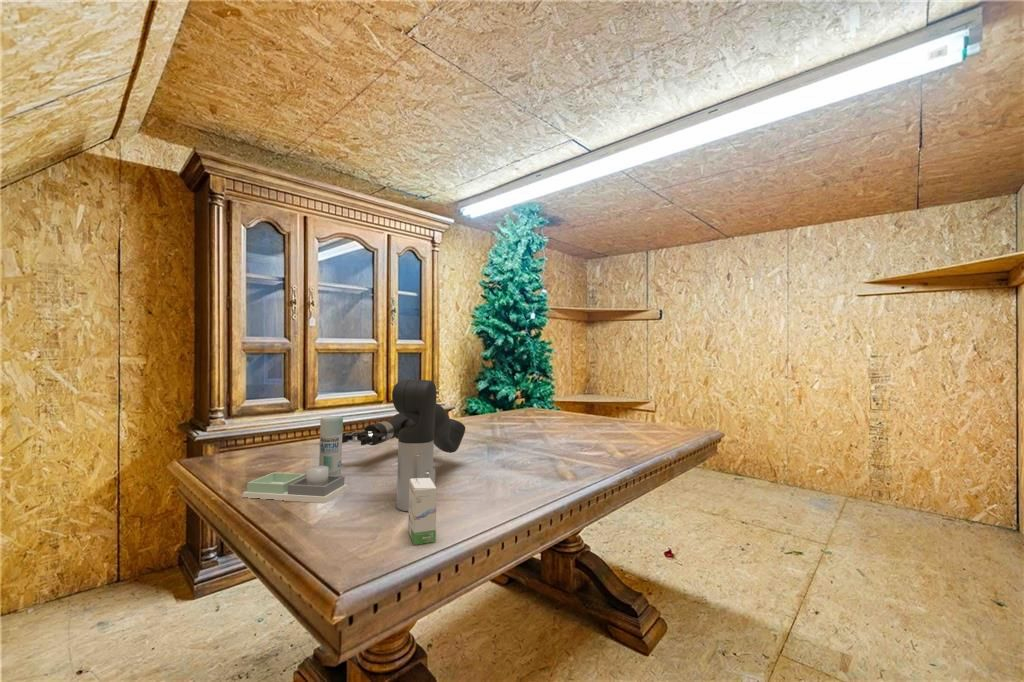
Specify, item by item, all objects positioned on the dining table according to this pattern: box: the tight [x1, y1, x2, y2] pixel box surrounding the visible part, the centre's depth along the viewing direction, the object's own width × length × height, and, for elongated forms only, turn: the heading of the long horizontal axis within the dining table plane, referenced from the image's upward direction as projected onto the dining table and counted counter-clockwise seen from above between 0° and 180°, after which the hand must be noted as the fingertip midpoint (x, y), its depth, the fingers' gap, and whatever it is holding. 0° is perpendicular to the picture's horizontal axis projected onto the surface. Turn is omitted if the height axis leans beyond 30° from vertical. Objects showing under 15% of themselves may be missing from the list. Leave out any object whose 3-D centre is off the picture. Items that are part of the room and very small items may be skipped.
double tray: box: [242, 464, 349, 504], centre depth 122 cm, size 24×12×8 cm, turn 83°
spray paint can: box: [318, 415, 344, 476], centre depth 134 cm, size 6×6×20 cm
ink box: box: [407, 478, 438, 546], centre depth 95 cm, size 8×5×12 cm, turn 21°
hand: (350, 441), depth 143 cm, fingers open, 8 cm apart
